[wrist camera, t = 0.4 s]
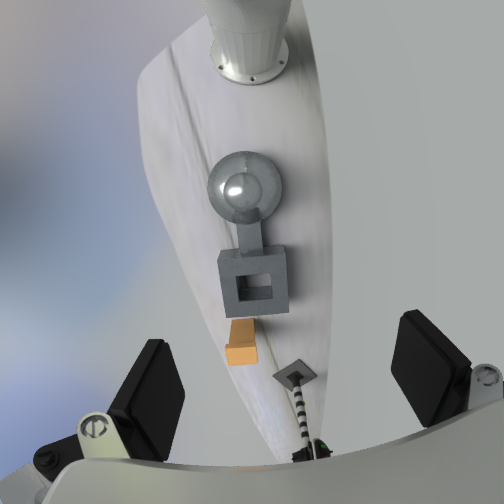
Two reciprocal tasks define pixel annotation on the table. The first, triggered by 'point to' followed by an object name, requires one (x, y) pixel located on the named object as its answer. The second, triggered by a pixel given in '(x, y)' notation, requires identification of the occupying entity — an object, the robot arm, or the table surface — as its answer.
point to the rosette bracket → (249, 233)
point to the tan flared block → (242, 343)
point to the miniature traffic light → (302, 410)
